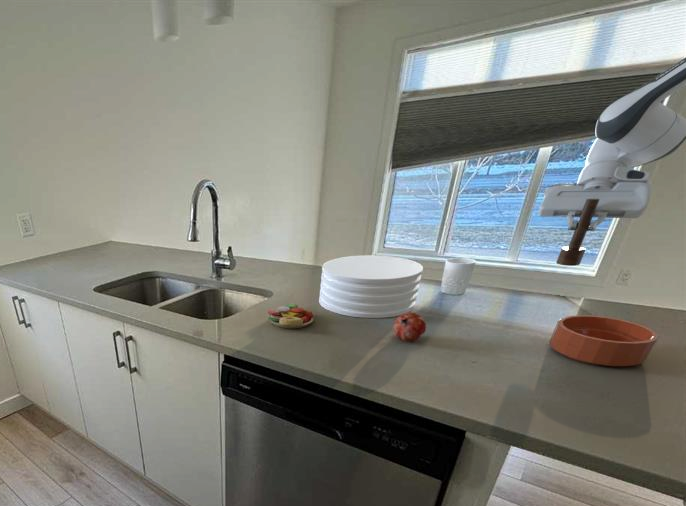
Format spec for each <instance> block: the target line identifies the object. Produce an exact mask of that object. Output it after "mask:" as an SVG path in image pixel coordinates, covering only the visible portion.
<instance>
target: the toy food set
mask: <svg viewBox="0 0 686 506" xmlns="http://www.w3.org/2000/svg"><path fill="white" fill-rule="evenodd" d="M267 314H269V316H268V320H269V321H270V322H271V323H272V325H274V326H276V327H279V328H283V329H301V328H304V327H305V328H306V327H308V326H309V325H311V324H312V323H313V322H314V320H315V318H314V317H315V316H314V313H313V312H312V311H310V310H308V309H305V308H303V307H299V305H298V304H296V303H287V304H286V305H285V306H279V307H276V311H275V310H268V311H267Z"/></svg>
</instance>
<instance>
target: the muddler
mask: <svg viewBox="0 0 686 506" xmlns="http://www.w3.org/2000/svg"><path fill="white" fill-rule="evenodd" d="M599 200H600V199H587V200H586V202H585V205H584V207H583V210H582V212H581V215H580V217H578V220H577V221H578V223H577V226H576V228H575V230H573V233H572V236H571V239H570V240H569V244H568V245H567V246H563V247H561V249H560V251H559V254H558V257H557V260H556V264H557V265H561V266H568V267H573V266H575V267H576V266H579V265H581V262H582V260H583V258H584V255H585V252H586V250H587V249H586V248H585V247H582V245H583V242H584V240H585V237H586V234H587V232H588V231H587V229H588V227H589V224H590V222H592V220H593V218H592V217H593V215H594V212H595V210H596V207H597V205H598V202H599Z"/></svg>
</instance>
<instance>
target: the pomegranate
mask: <svg viewBox="0 0 686 506" xmlns="http://www.w3.org/2000/svg"><path fill="white" fill-rule="evenodd" d="M421 315H422V314H419V313H417V312H412V311H410V312H408V313H406V314H403V315H399V316H397V318H396V320H395V322H394V323H393V326H392V327H393V334H394V335H395V337H396V338H397V339H399V340H402V341H404V342H408V343H412V342H414V341H417V340H419V339H420V338H421V336H422V335H423V334H424V333H426V331H427V322H426V321H425V319H424V318H423V317H422V316H421Z"/></svg>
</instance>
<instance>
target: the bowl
mask: <svg viewBox="0 0 686 506" xmlns="http://www.w3.org/2000/svg"><path fill="white" fill-rule="evenodd" d="M659 338H660V337H659V334H658V332H656V331H654V330H653V329H652V328H650V327H648V326H645V325H642V324H640V323H636V322H633V321H629V320H626V319H621V318H615V317H609V316H601V315H587V314H583V315H582V314H577V315H567V316H565V317H561V318H560V319H559V320H557V323H556V325H555V327H554V329H553V332H552V334H551V336H550V339H549V346H550V347H551V348H552V349H553V350H554V351H556V352H558V353H560V354H562V355H563V356H565V357H567V358H570V359H572V360H576V361H579V362H581V363H582V362H583V363H586V364H590V365H597V366H605V367H629V366H630V367H631V366H637V365H641V364H643V363H645V361H646V360H647V359H648V357H649V355H650V354H651V351H652V350H653V348H654V346H655V344H656V343H657V341H658V339H659Z"/></svg>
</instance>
